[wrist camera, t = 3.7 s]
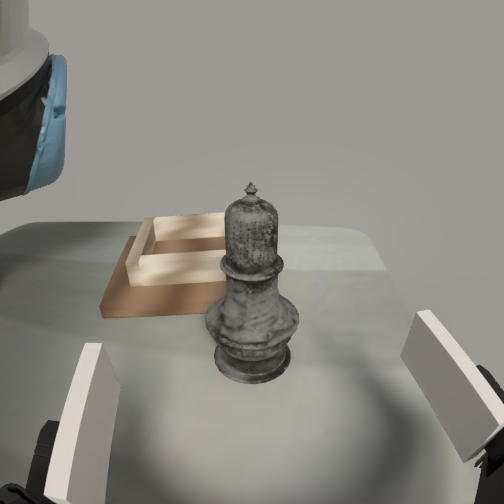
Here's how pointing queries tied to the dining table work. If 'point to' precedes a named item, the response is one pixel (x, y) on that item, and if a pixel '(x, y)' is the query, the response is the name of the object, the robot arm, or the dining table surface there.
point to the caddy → (169, 268)
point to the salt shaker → (251, 296)
